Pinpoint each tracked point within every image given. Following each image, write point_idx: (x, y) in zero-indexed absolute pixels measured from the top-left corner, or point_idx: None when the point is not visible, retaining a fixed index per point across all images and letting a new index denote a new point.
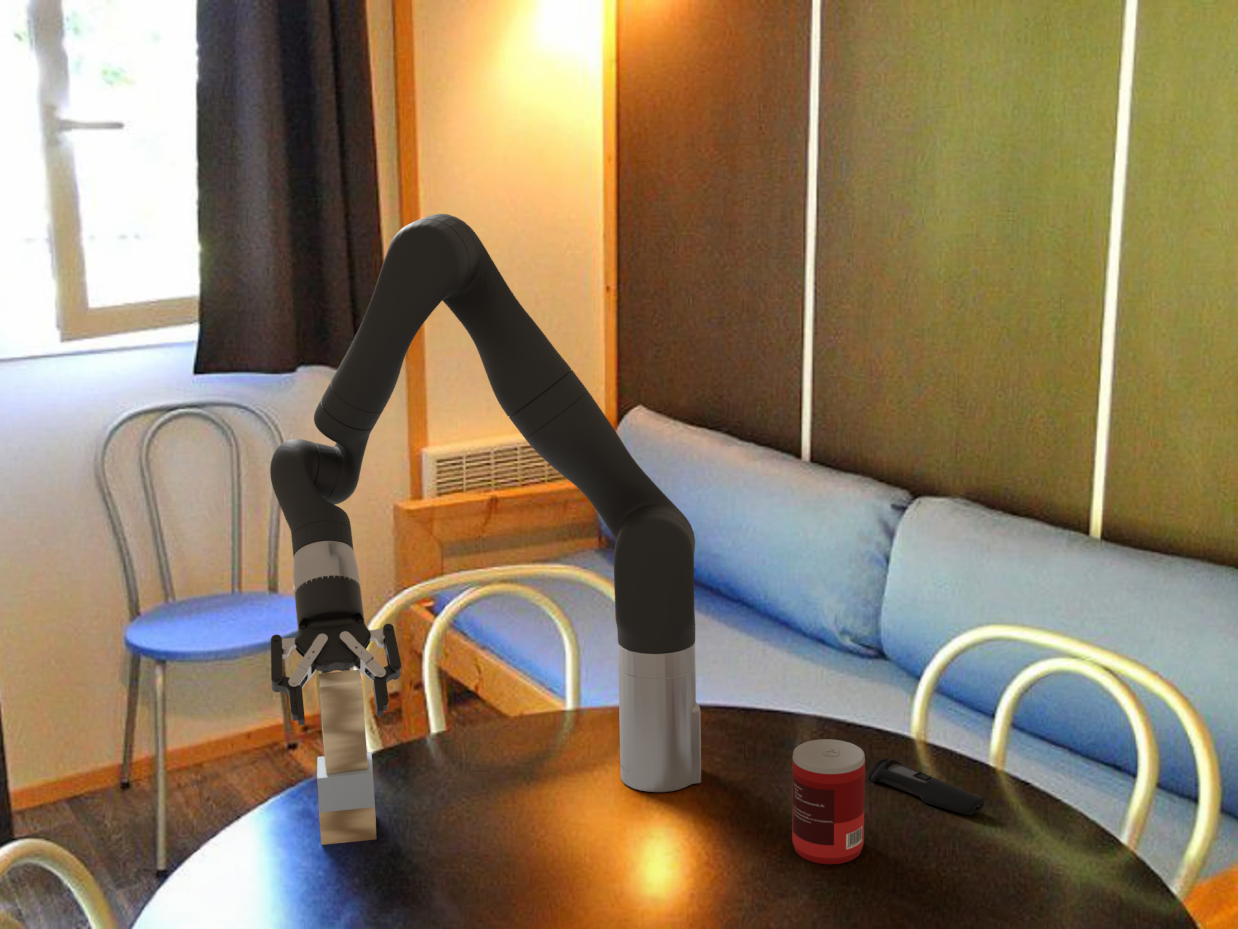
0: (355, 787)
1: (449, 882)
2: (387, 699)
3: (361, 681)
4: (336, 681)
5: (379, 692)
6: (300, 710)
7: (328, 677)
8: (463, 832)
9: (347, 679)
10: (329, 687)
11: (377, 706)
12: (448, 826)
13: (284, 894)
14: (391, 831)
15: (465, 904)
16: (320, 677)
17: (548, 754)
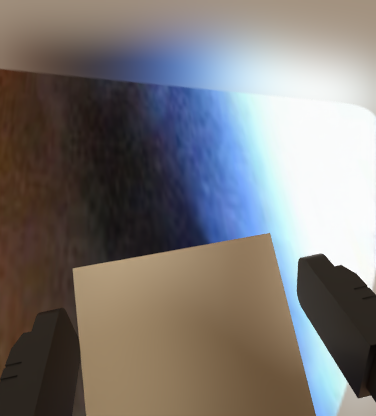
0: None
1: (43, 147)
2: (13, 354)
3: (77, 289)
4: (204, 307)
5: (29, 360)
6: (323, 265)
7: (257, 382)
8: (12, 286)
9: (150, 329)
10: (227, 242)
11: (57, 311)
12: (33, 309)
13: (241, 141)
14: None
15: (28, 98)
16: (300, 385)
17: None
